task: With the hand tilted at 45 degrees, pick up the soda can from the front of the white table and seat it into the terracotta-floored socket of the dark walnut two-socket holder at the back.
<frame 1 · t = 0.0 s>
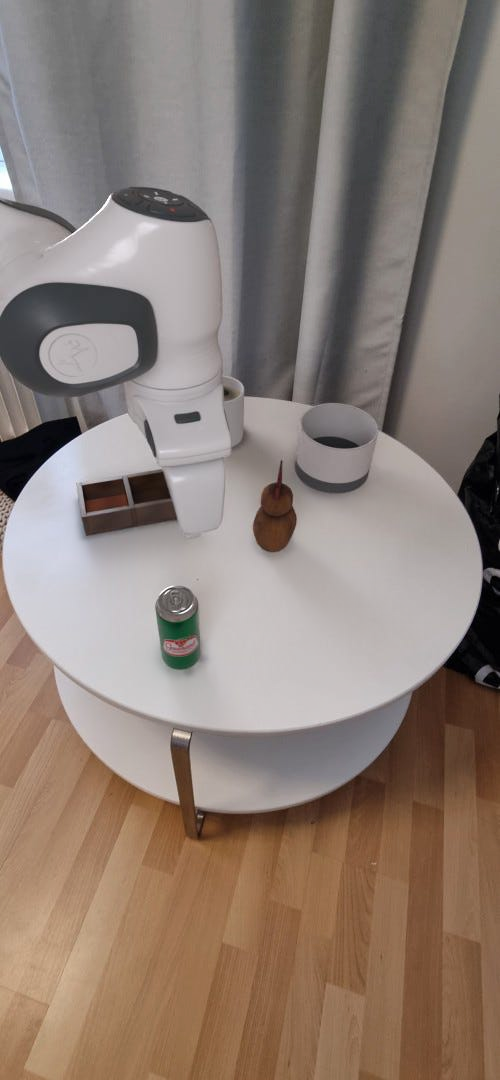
hand: (181, 502, 63), 23 cm above the table, tool pointing down, fingers open, 8 cm apart
wooden figurine: (272, 543, 91), on the table
holder: (131, 509, 95), on the table
soda can: (181, 656, 77), on the table
mug: (214, 436, 110), on the table
planter: (330, 475, 103), on the table
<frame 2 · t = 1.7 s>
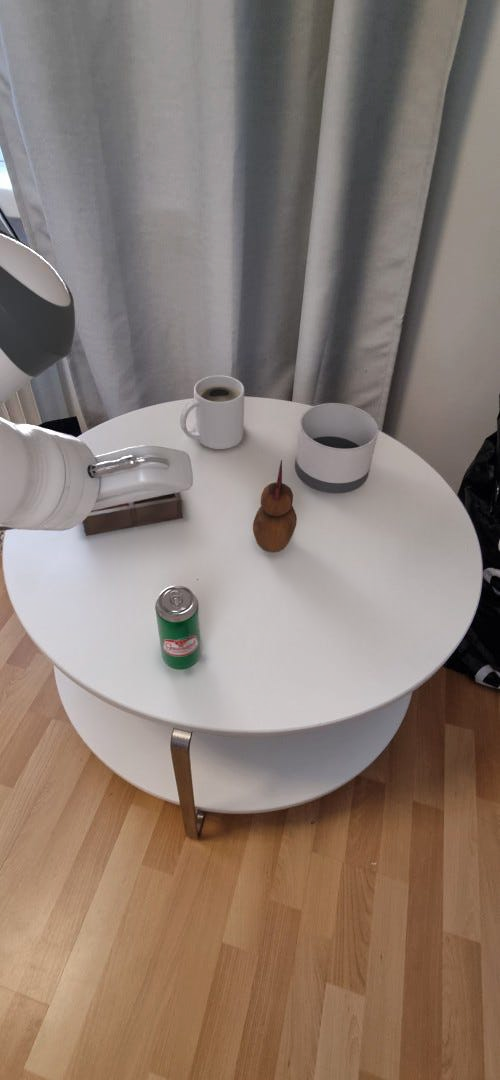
hand: (135, 494, 65), 23 cm above the table, tool tilted 50°, fingers open, 8 cm apart
nothing on the table moved.
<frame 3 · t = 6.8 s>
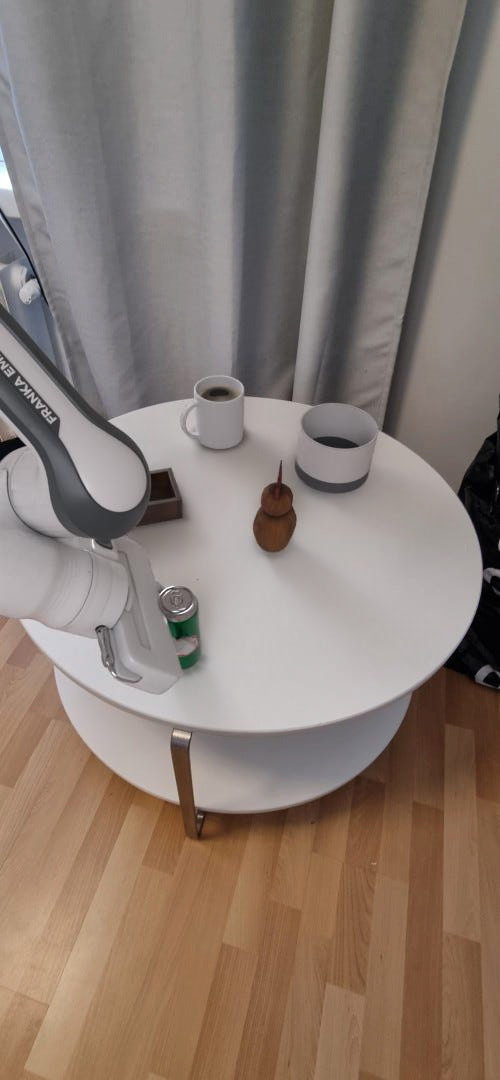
hand: (183, 625, 72), 7 cm above the table, tool tilted 45°, fingers closed on soda can, 5 cm apart
soda can: (181, 656, 77), on the table, touching gripper
everything else where it was.
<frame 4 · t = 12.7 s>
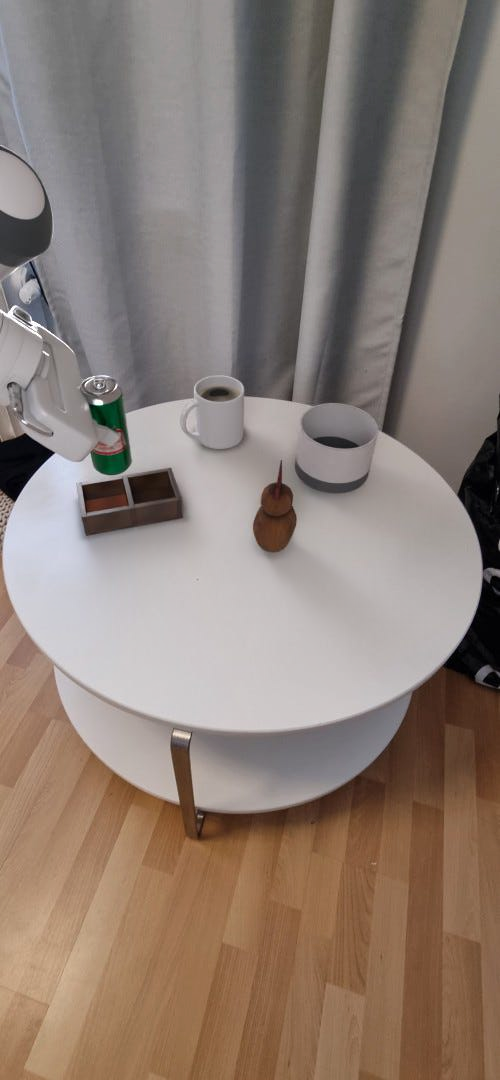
hand: (110, 423, 72), 23 cm above the table, tool tilted 45°, fingers closed on soda can, 5 cm apart
soda can: (113, 466, 77), point 17 cm above the table, touching gripper
everything else where it was.
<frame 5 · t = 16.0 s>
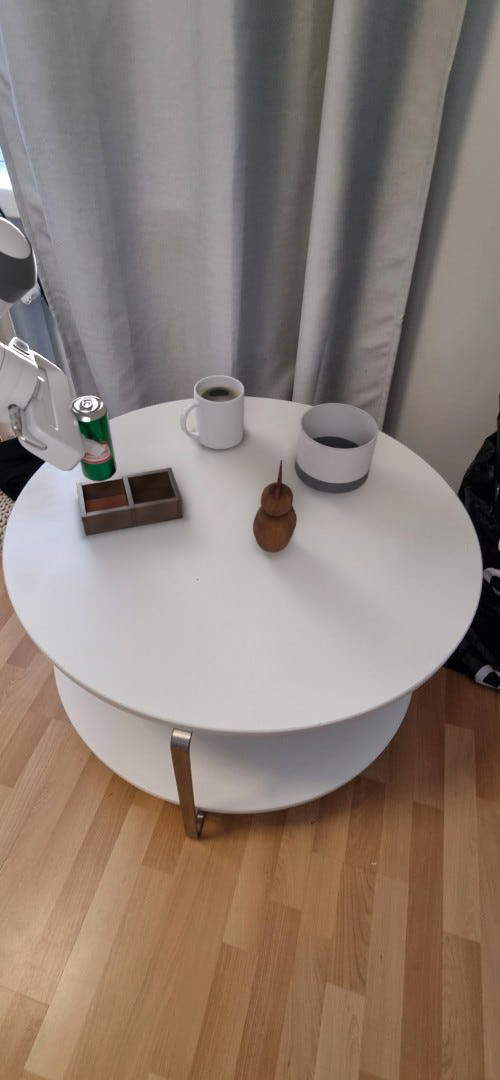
hand: (97, 436, 84), 15 cm above the table, tool tilted 45°, fingers closed on soda can, 5 cm apart
soda can: (100, 473, 88), point 8 cm above the table, touching gripper
everything else where it was.
when the fingers open (7 cm above the table, at t = 18.7 s): soda can stays where it is, resting on holder.
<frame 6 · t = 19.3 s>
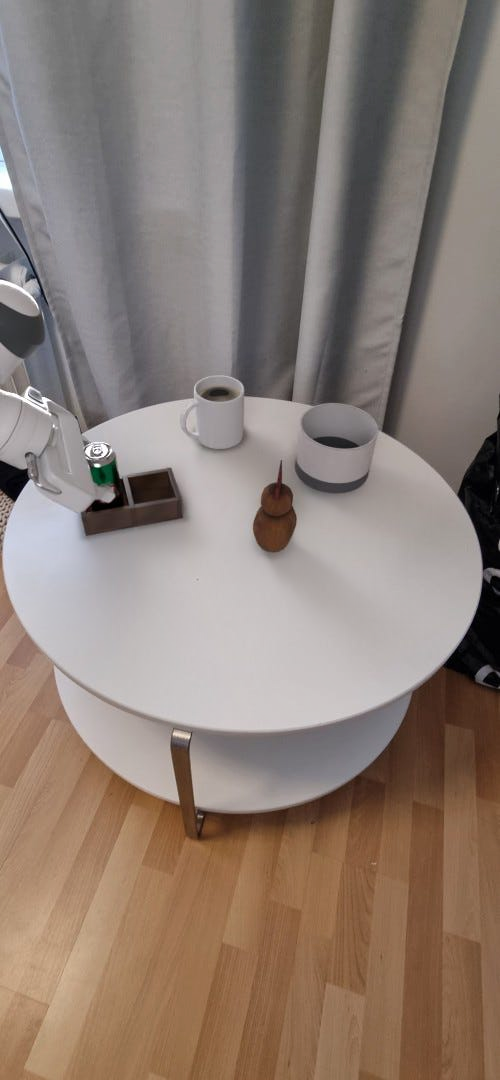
hand: (106, 476, 89), 8 cm above the table, tool tilted 45°, fingers open, 8 cm apart
soda can: (109, 511, 94), point 1 cm above the table, touching holder
everything else where it was.
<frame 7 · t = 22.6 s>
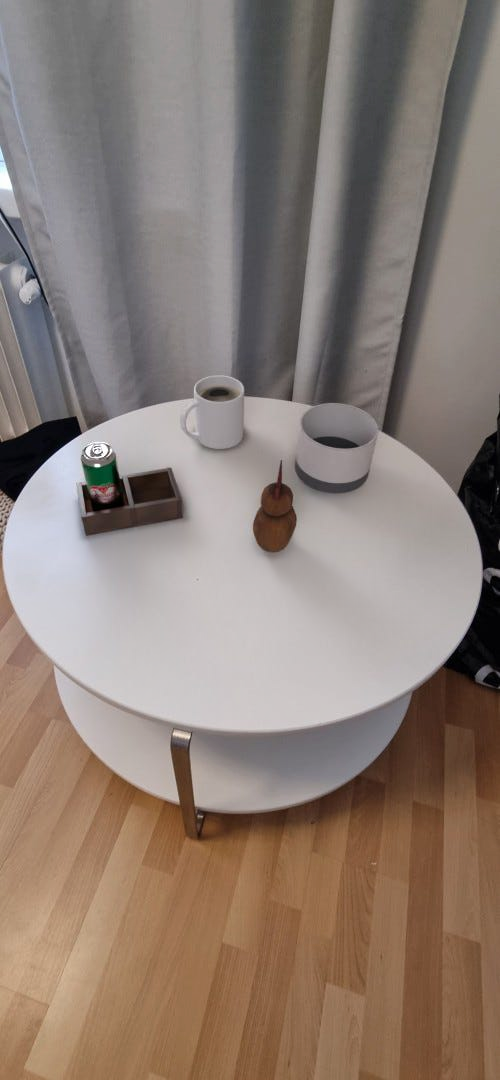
nothing on the table moved.
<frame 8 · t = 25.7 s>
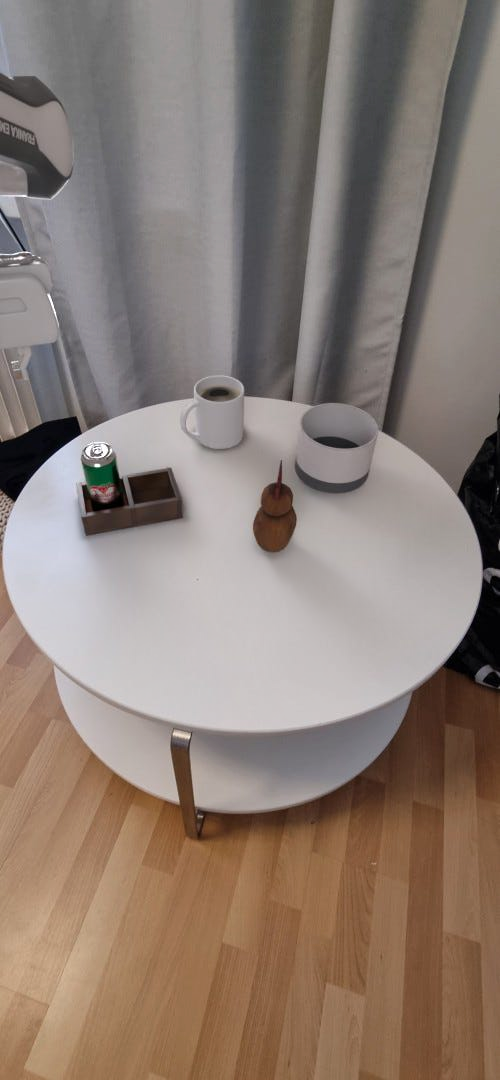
nothing on the table moved.
at the end: soda can 0.2 cm from the target spot in the holder, point 0.6 cm above the holder's base; soda can tilted 0°; the gripper is holding nothing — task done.
